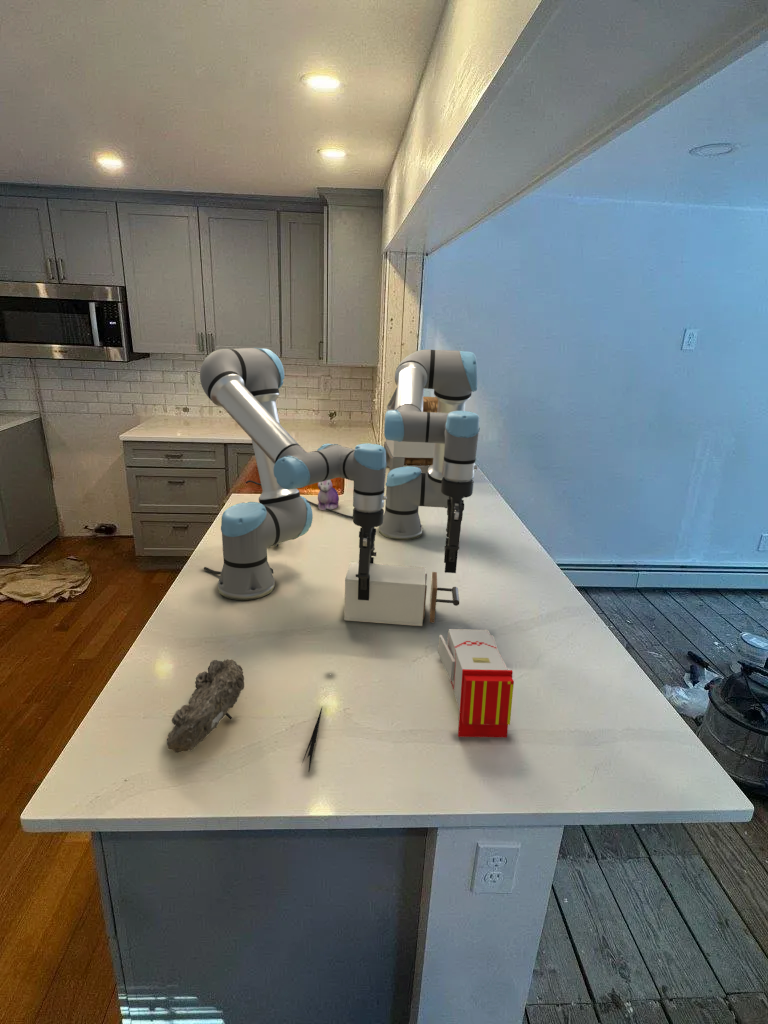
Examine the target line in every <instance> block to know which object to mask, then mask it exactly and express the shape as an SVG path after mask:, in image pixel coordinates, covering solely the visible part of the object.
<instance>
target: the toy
mask: <svg viewBox="0 0 768 1024" xmlns="http://www.w3.org/2000/svg"><path fill="white" fill-rule="evenodd" d="M446 640H447V643H446V641H445V639H444V636H443V635H442V634H439V637H438V646H437V656H438V657H439V659H440V661H441V663H442V666H443V668H444V670H445V672H446V674H447V677H448V679H449V681H450V684H451V687H452V690H453V693H454V697H455V701H456V705H457V708H458V711H459V714H458V715H459V716H458V730H457V731H458V732H457V737H458V738H508V731H509V726H510V725H511V717H512V707H513V697H514V696H513V695H514V684H515V680H514V679H513V673H514V671H513V670H512V669H508V667H507V665H506V662H505V661H504V659H503V658H502V655H501V653H500V651H499V649H498V647H497V643H496V639H495V637H494V635H493V634H491V632H490V631H489V629H467V628H466V629H465V628H463V629H461V628H460V629H459V628H448V630H447V639H446Z"/></svg>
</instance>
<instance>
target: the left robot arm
mask: <svg viewBox="0 0 768 1024" xmlns="http://www.w3.org/2000/svg"><path fill="white" fill-rule="evenodd" d="M284 379H285V369H284V365H283V363H282V361H281V359H280V358H279V356H278V355H277V354H276V353H275V352H273V351H272V350H270V349H269V348H263V347H262V348H261V347H243V348H220V349H217V350H214V351H212V352H211V353H210V354H208V355H207V356H206V357H205V359H204V360H203V361H202V364H201V366H200V370H199V381H200V384H201V388H202V390H203V392H204V394H205V395H206V396H207V398H208V399H209V400H210V401H211V402H212V404H214V405H215V406H217V407H222V409H224V411H225V412H226V413H227V414H228V415H229V416H230V417H231V418H232V419H233V421H235V423H237V424H238V426H239V427H240V428H241V429H242V430H243V431H244V432H245V434H247V436H248V437H249V438H250V439H251V443H252V448H253V453H254V457H255V462H256V467H257V473H258V476H259V481H260V484H261V485H260V486H261V491H262V492H261V494H260V495H259V497H258V502H257V501H248V502H239V503H236V504H234V505H231V506H229V507H228V508H227V509H225V510H224V512H222V515H221V521H220V522H221V524H220V525H221V526H220V531H221V532H220V533H221V541H222V542H221V543H222V558H223V559H222V560H223V563H222V567H221V570H220V571H219V570H213V569H211V568H209V567H207V566H204V567H203V570H204V571H207V572H209V573H211V574H214V575H218V576H219V578H218V581H217V587H218V588H217V590H218V593H219V594H220V596H222V597H224V598H227V599H229V600H235V601H251V600H255V599H261V598H263V597H265V596H268V595H269V594H271V593H272V592H273V591H274V589H275V586H276V584H275V577H274V575H273V574H274V569H273V568H272V567H271V566H270V564H269V562H268V561H269V560H268V549H269V548H270V547H274V546H276V545H277V544H279V545H280V544H283V543H285V542H288V541H292V540H296V539H298V538H299V537H301V536H303V535H305V534H307V533H308V532H309V529H311V527H312V524H313V518H314V517H313V515H314V514H313V509H312V506H311V504H310V503H308V502H307V500H308V499H307V498H306V497H305V496H303V495H301V493H300V492H301V491H300V490H299V489H301V488H304V487H307V486H311V485H314V484H318V483H319V482H323V481H326V480H334V479H338V478H341V479H345V480H348V481H353V490H352V492H353V494H352V506H353V509H352V517H353V519H352V523H353V524H354V525H355V526H357V527H360V528H359V531H358V538H359V541H358V549H359V551H358V553H359V554H358V562H359V569H358V574H356V577H358V578H359V579H358V600H368V601H369V586H370V574H369V570H370V563H374V562H375V561H374V560H375V557H377V552H376V551H375V550H376V548H375V541H376V535H377V527H378V528H379V526H380V525H382V524H383V517H384V513H385V509H383V508H385V501H386V499H387V496H386V495H385V492H386V490H385V489H386V488H385V487H386V472H387V466H386V464H387V463H386V450H385V448H384V445H381V444H378V443H368V442H367V443H366V442H365V443H359V444H357V445H355V447H354V448H350V447H347V446H343V445H341V444H338V443H328V442H327V443H324V444H322V445H321V446H320V447H318V448H317V449H316V450H312V451H306V450H305V449H304V448H303V447H302V446H301V445H300V444H299V443H298V442H297V441H296V439H294V437H293V436H292V435H291V434H290V433H289V432H288V431H287V430H286V429H285V428H284V427H283V426H282V424H281V422H280V417H279V412H278V408H277V403H276V402H277V399H278V398H279V397H280V389H281V388H282V386H283V384H284ZM374 564H375V563H374Z"/></svg>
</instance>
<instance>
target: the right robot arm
mask: <svg viewBox="0 0 768 1024" xmlns="http://www.w3.org/2000/svg"><path fill="white" fill-rule="evenodd" d="M394 383H395V385H396V388H397V392H396V400H395V409H394V410H389V411H387V410H386V412H385V414H384V426H383V427H384V428H383V435H384V439H385V438H386V439H387V440H392V441H398V442H401V441H403V442H426V443H435V444H434V456H433V465H430V466H428V468H427V472H422V469H421V468H420V467H419V466H418V467H417V466H407V465H406V466H404V467H399V468H395V469H393V470H391V471H390V470H389V471H388V473H387V475H386V481H385V487H386V488H385V489H386V490H385V496H387V499H386V500H385V503H384V508H385V509H384V517H383V524H382V525H380V526H378V533H379V534H380V535H381V536H382V537H385V538H387V539H389V540H395V541H410V540H415V539H418V538H420V537H421V536H422V535H423V529H424V527H423V525H422V524H421V518H420V515H419V507H425V508H426V507H427V508H444V509H446V515H447V518H446V529H445V531H446V534H445V537H446V538H445V545H444V559H443V563H444V573H445V574H446V573H447V574H457V566H458V554H459V550H460V539H461V531H462V530H461V529H462V521H463V517H464V511H465V501H464V498H469V497H471V496H473V493H474V492H473V491H474V480H473V479H474V478H475V470H478V468H479V467H478V465H476V461H477V459H476V458H477V451H478V449H477V448H478V441H479V432H480V429H481V427H480V416H479V414H478V413H476V412H474V411H467V410H466V402H467V401H468V400H470V399H471V398H472V393H474V392H477V390H478V361H477V357H476V354H475V353H474V352H472V351H466V350H461V349H459V350H452V349H429V348H428V349H420V350H417V351H414V352H412V353H410V354H408V355H407V356H405V357H404V358H403V359H402V360H401V361H400V362H399V364H398V365H397V367H396V369H395V372H394ZM424 389H427V390H433V395H434V397H436V398H437V399H438V409H437V413H434V412H423V397H424ZM248 483H252V484H255V485H258V486H261V482H260V483H259V482H257V481H254V480H250V479H248V480H246V481H245V484H248ZM307 503H309V504H310V505H313V506H314V507H317V508H318V507H319V506H318V503H314V502H312V501H310V500H308V499H307ZM325 511H327V512H329V513H333V514H336V515H339V516H342V517H345V518H349V519H352V520H353V515H352V516H351V515H348V514H345V513H342V512H339V511H335V510H334V509H331V510H330V509H327V508H326V510H325Z"/></svg>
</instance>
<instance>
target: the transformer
mask: <svg viewBox="0 0 768 1024" xmlns="http://www.w3.org/2000/svg"><path fill="white" fill-rule="evenodd" d="M396 392H397V387H396V388H395V390H394V392H393V394H392V395H391V398H390V400H389V402H388V404H387V405H386V412H387V411H389V410H394V409H395V400H396ZM437 409H438V399H437V398H436V397H435V396H423V412H434V413H437ZM434 444H435V443H426V442H403V441H401V442H398V441H392V440H387V439H386V438H385V437H384V442H383V447H384V448H385V450H386V463H387V464H386V468H387V467H388V468H389V472H390V471H391V470H393V469H395V468H399V467H405V466H406V467H407V466H412V467H417V466H418V467H430V466H431V465H433V456H434Z"/></svg>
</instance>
